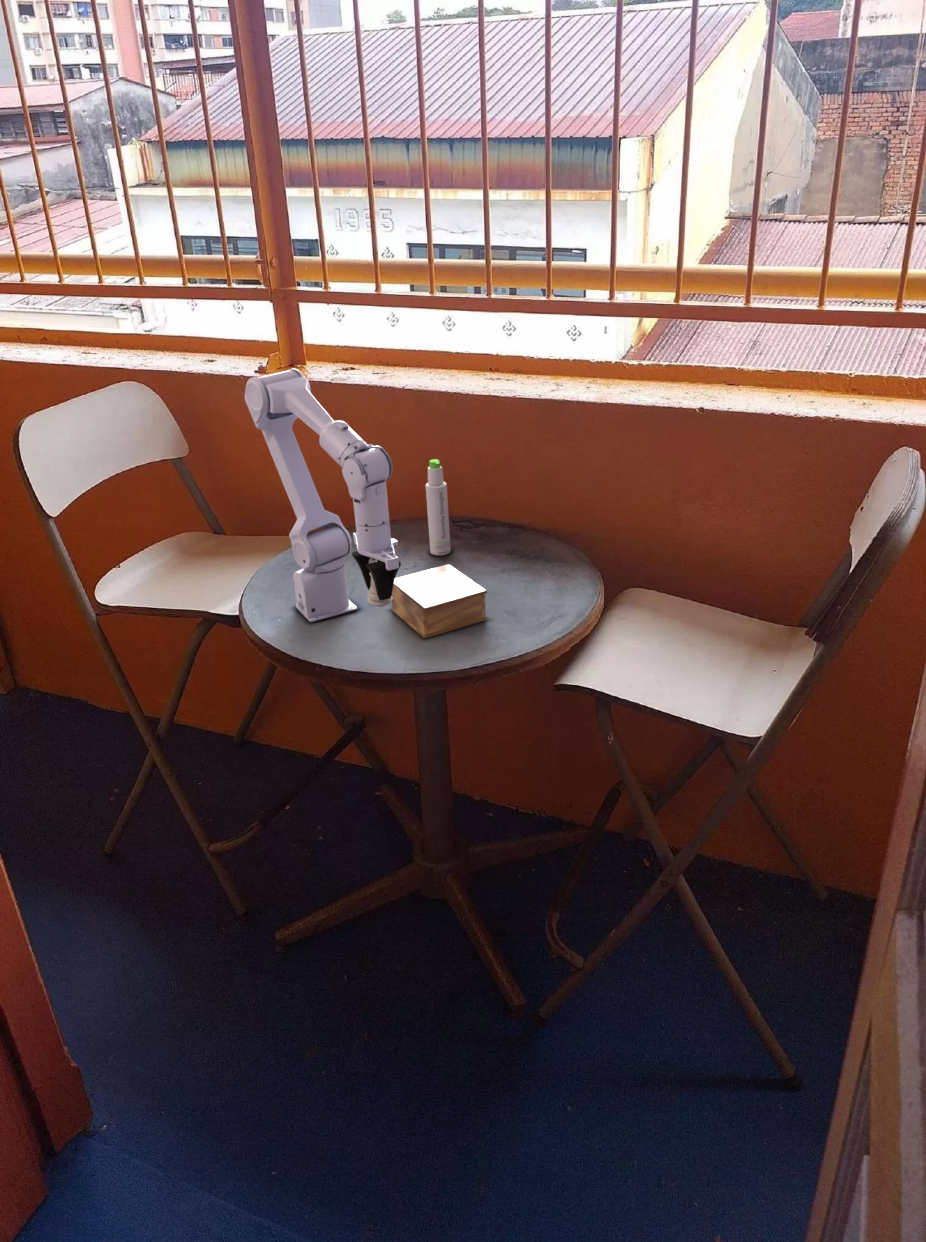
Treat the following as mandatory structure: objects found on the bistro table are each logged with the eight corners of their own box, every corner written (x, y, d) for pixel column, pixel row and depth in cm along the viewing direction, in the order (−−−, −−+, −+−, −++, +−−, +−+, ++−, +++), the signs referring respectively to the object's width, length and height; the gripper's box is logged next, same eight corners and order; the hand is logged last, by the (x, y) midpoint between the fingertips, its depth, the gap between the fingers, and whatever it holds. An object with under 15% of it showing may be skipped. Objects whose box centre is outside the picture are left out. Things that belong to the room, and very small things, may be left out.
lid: (487, 593, 163) (486, 590, 163) (424, 611, 158) (424, 608, 158) (448, 566, 175) (448, 563, 174) (389, 582, 169) (389, 579, 169)
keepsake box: (485, 620, 167) (484, 591, 164) (424, 638, 162) (422, 609, 159) (450, 594, 177) (448, 567, 175) (392, 610, 172) (389, 582, 169)
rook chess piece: (398, 601, 161) (394, 559, 158) (378, 609, 159) (374, 567, 155) (382, 594, 164) (378, 552, 161) (362, 602, 162) (357, 560, 158)
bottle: (431, 556, 194) (425, 464, 185) (429, 548, 198) (422, 458, 189) (452, 554, 195) (446, 462, 185) (449, 546, 198) (443, 456, 189)
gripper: (412, 528, 151) (418, 602, 157) (376, 503, 162) (383, 574, 168) (373, 538, 148) (380, 613, 154) (339, 512, 159) (347, 583, 165)
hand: (379, 593), depth 161 cm, fingers closed on rook chess piece, 4 cm apart
